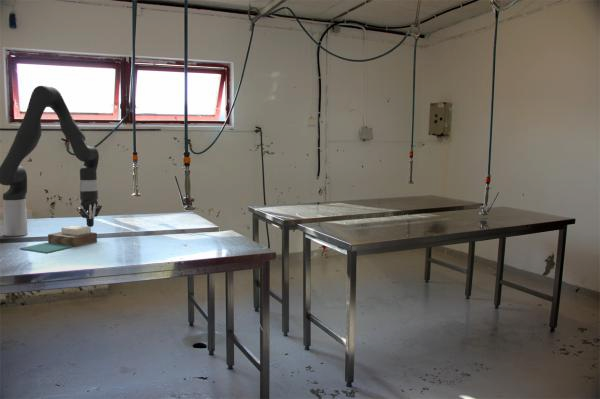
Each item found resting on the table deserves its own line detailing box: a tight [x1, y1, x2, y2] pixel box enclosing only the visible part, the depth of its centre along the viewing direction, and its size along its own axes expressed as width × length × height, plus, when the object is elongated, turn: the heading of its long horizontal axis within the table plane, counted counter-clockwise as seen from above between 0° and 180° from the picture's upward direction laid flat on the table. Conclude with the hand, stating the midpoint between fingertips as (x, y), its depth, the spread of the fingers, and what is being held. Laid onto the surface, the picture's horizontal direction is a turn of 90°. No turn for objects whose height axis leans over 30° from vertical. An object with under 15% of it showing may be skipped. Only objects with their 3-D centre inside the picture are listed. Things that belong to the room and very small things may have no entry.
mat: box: [19, 242, 74, 254], centre depth 193 cm, size 16×12×1 cm
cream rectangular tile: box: [61, 225, 92, 235], centre depth 207 cm, size 10×7×2 cm
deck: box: [47, 231, 98, 248], centre depth 205 cm, size 16×12×4 cm
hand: (90, 226), depth 215 cm, fingers closed
